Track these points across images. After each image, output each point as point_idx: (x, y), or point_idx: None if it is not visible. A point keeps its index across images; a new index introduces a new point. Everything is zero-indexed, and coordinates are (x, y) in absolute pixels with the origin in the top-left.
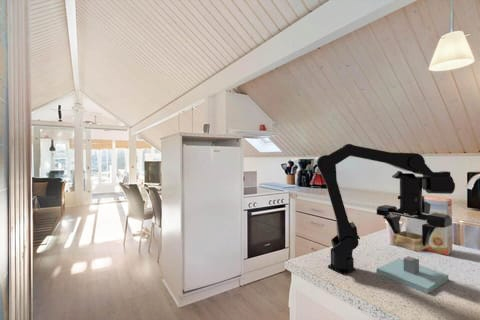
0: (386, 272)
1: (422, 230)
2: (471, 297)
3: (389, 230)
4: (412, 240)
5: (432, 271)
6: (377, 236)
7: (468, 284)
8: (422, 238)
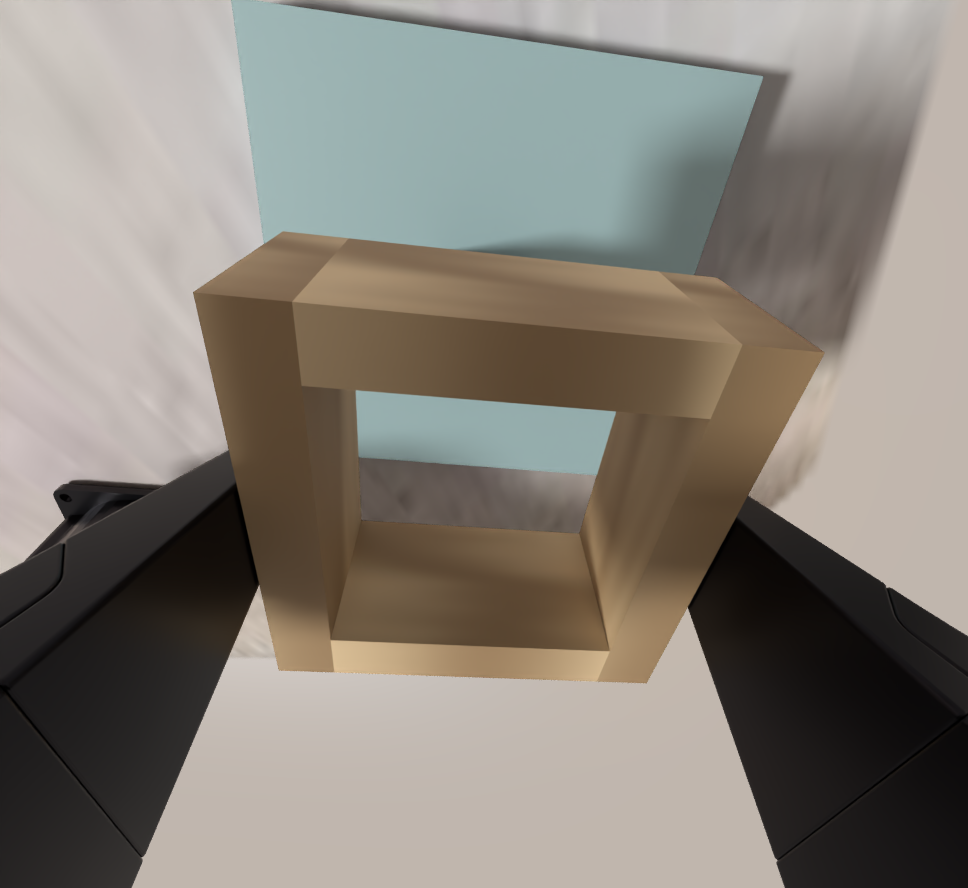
0: (368, 456)
1: (787, 877)
2: (844, 302)
3: None
4: (565, 668)
5: (624, 127)
6: None
7: (897, 30)
8: (703, 644)
